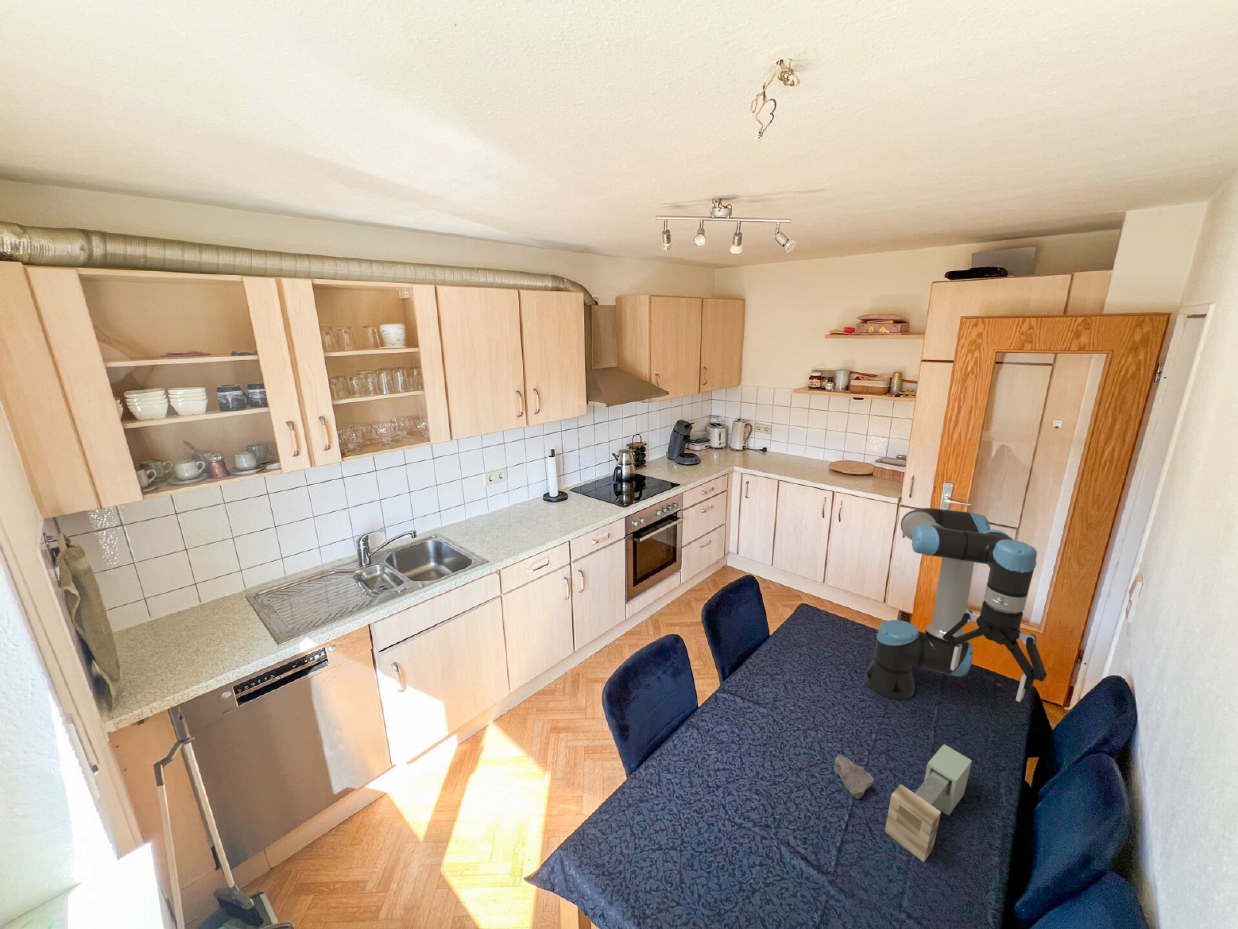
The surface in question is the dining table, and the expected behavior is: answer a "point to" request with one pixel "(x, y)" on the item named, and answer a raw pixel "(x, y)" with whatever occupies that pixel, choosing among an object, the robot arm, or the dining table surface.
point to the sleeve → (950, 775)
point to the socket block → (912, 822)
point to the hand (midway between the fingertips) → (985, 682)
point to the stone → (853, 776)
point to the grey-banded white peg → (934, 788)
